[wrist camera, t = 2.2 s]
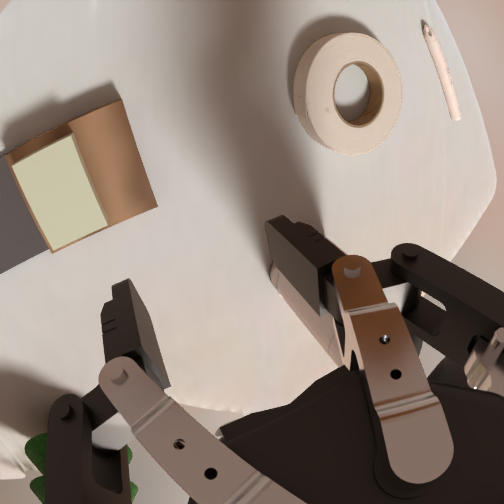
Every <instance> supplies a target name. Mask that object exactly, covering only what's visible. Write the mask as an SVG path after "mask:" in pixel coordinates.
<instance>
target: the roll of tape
mask: <svg viewBox="0 0 504 504" xmlns="http://www.w3.org/2000/svg"><path fill="white" fill-rule="evenodd" d="M351 64H355V65H357V66H358V67H360V68H361V69H362V70H363V71H364V73H365V75H366V76H367V78H368V81H369V85H370V98H369V102H368V105H367V107H366V109H365V111H364V112H363V113H362V115H360V116H359V117H358V118H357V119H356V120H353V121H349V122H347V121H345V120H344V119H343V118H342V116H341V115H340V114H339V112H338V110H337V107H336V104H335V99H334V89H335V84H336V81H337V78H338V76H339V75H340V73H341V72H342V70H343V69H344V68H346V67H347V66H349V65H351ZM293 100H294V110H295V114H297V115H298V117H299V120H300V122H301V124H302V126H303V128H304V129H305V131H306V132H307V133H308V134H309V136H310V137H311V138H312V139H313V140H315V141H316V142H317V143H319V144H320V145H322V146H324V147H326V148H328V149H331V150H333V151H336V152H338V153H341V154H345V155H361V154H365V153H368V152H370V151H372V150H374V149H375V148H377V147H378V146H379V145H381V144H382V143H383V142H384V141H385V140H386V138H387V137H388V136H389V135H390V133H391V132H392V130H393V128H394V126H395V124H396V122H397V119H398V116H399V113H400V109H401V103H402V82H401V77H400V73H399V70H398V67H397V65H396V63H395V61H394V59H393V57H392V55H391V54H390V53H389V51H388V50H387V49H386V48H385V47H384V46H383V45H382V44H381V43H380V42H379V41H377V40H376V39H374V38H373V37H371V36H368V35H366V34H363V33H357V32H347V33H334V34H330V35H327V36H324V37H322V38H320V39H318V40H317V41H315V42H314V43H313V44H312V45H311V46H310V47H309V48H308V49H307V50H306V51H305V52H304V54H303V56H302V57H301V59H300V61H299V63H298V66H297V69H296V72H295V77H294V84H293Z"/></svg>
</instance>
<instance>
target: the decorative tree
mask: <svg viewBox="0 0 504 504" xmlns="http://www.w3.org/2000/svg"><path fill="white" fill-rule="evenodd" d="M46 444H47V433H43V434H40V435H37V436H35V437H33V438H31V439H30V440H29V441H28V442H27V443H26V445H25V453H26V455H27V456H28V458H29V459H30V460H31V461H32V463H33V464H34V465H35V466H36V467H37V469H38V470H39V471H40V472H41V473H42V474H43V476H40V477H37V478H35V479H34V480H32V481H31V483H30V488H31V490H32V491H33V492H34V494H35V495H36V496H37V497H38V499H39V500H40V501H41V502H42V503H43V504H45V460H46ZM127 452H128V464H129V463H130V461H131V459H132V451H131V449H130V448H129V447H128V446H127ZM130 489H131V498H132V502H133V500H134V498H135V496H136V494H137V491H138V487H137V486H136V485H135V484H134V483H133V482H131V481H130Z"/></svg>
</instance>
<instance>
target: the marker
mask: <svg viewBox="0 0 504 504" xmlns="http://www.w3.org/2000/svg"><path fill="white" fill-rule="evenodd" d="M423 34H424V38H425V41H426V43H427V46H428V48H429V51H430V54H431V56H432V59H433V62H434V64H435V67H436V70H437V73H438V76H439V79H440V82H441V85H442V88H443V91H444V95H445V98H446V101H447V105H448V108H449V112H450V116H451V118H452V120H455V121H458V120H460V119H461V118H462V117H461V112H460V108H459V104H458V100H457V96H456V93H455V89H454V85H453V82H452V79H451V75H450V72H449V69H448V66H447V63H446V60H445V57H444V54H443V52H442V49H441V46H440V43H439V41H438V38H437V36H436V34H435V32H434V31H433V30H432V29H431V28H430V27H429V26H428V25H426V24H425V25H424V29H423Z"/></svg>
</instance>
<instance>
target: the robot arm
mask: <svg viewBox="0 0 504 504" xmlns="http://www.w3.org/2000/svg"><path fill="white" fill-rule="evenodd" d="M265 230H266V235H267V240H268V245H269V250H270V255H271V258H272V260H273V264H272V267H271V272H270V278H271V282H272V284H273V286H274V287H275V288H276V290H277V291H278V293H279V294H280V295H281V297H282V298H283V299H284V300H285V301H286V302H287V304H288V305H289V306H290V307H291V309H292V310H293V311H294V312H295V314H296V315H297V316H298V317H299V319H300V320H301V321H302V322H303V324H304V325H305V326H306V327H307V329H308V330H309V331H310V332H311V334H312V335H313V336H314V337H315V339H316V340H317V341H318V342H319V344H320V345H321V346H322V347H323V349H324V350H325V351H326V352H327V354H328V355H329V356H330V357H331V358H332V360H333V361H334V362H335V363H336V365H337V366H338V367H339V368H337V369H336V370H334V371H332V372H330V373H329V374H327V375H325V376H323V377H322V378H320V379H318V380H316V381H315V382H314V383H313V384H312V385H311V386H310V387H308V388H307V389H306V390H305V391H304V392H303V393H302V394H301V395H299V396H298V397H297V398H296V399H295V400H294V401H293V402H291V403H290V404H288V405H285V406H281V407H277V408H273V409H269V410H264V411H260V412H255V413H251V414H249V415H247V416H245V417H243V418H240V419H238V420H236V421H234V422H231V423H229V424H227V425H224V426H222V427H220V429H221V432H222V434H223V437H221V438H220V439H219V440H218V439H217V438H216V437H215V436H213V435H212V434H211V433H210V432H209V431H208V430H206V429H205V428H204V427H203V426H202V425H201V424H200V423H198V422H197V421H196V420H195V419H194V418H193V417H192V416H190V414H188V413H187V412H186V411H185V410H184V409H183V408H182V407H181V406H180V405H179V404H178V403H177V402H176V401H175V400H174V399H172V398H171V397H169V396H168V395H166V394H165V393H164V390H163V389H166V388H168V387H171V385H170V382H169V379H168V375H167V372H166V369H165V366H164V363H163V359H162V356H161V353H160V349H159V346H158V342H157V339H156V335H155V332H154V328H153V325H152V321H151V318H150V315H149V313H148V311H147V309H146V307H145V305H144V303H143V301H142V300H141V298H140V296H139V294H138V292H137V291H136V289H135V287H134V285H133V283H132V281H131V280H130V279H129V278H128V279H126V280H124V281H121V282H119V283H117V284H114V285H112V296H113V300H111V301H109V302H106V303H105V304H104V306H103V309H102V312H101V324H102V333H103V335H102V336H103V346H104V354H105V362H106V364H105V365H104V367H103V368H102V370H101V372H100V374H99V384H98V386H97V387H96V388H94V389H93V390H92V391H90V392H89V393H88V394H86V395H85V396H84V397H82V398H81V399H80V398H79V397H78V396H76V395H74V394H66V395H63V396H61V397H60V398H58V399H57V400H56V401H55V402H54V404H53V405H52V407H51V410H50V414H49V422H48V432H47V444H46V460H45V504H132V498H131V489H130V479H129V466H128V452H127V443H129V442H130V441H131V440H133V439H134V438H136V439H137V440H138V441H139V442H140V443H141V445H142V446H143V447H144V448H145V449H146V450H147V451H148V453H150V455H151V456H152V457H153V458H154V459H155V461H156V462H157V463H158V464H159V465H160V466H161V467H162V468H163V469H164V470H165V471H166V472H167V474H168V475H169V476H170V477H171V478H172V479H173V480H174V481H175V482H176V483H177V484H178V485H179V486H180V487H181V488H182V489H183V490H184V491H185V492H186V493H187V494H188V495H190V498H189V502H188V504H504V292H502V291H501V290H499V289H497V288H496V287H494V286H492V285H490V284H488V283H487V282H485V281H483V280H482V279H480V278H478V277H476V276H475V275H473V274H471V273H469V272H467V271H466V270H464V269H462V268H460V267H458V266H457V265H455V264H453V263H451V262H449V261H447V260H446V259H444V258H442V257H440V256H438V255H436V254H434V253H432V252H430V251H428V250H427V249H425V248H423V247H421V246H419V245H416V244H412V243H403V244H399V245H397V246H395V247H394V248H393V250H392V252H391V258H390V259H386V260H381V261H377V262H370V261H369V260H367V259H366V258H364V257H362V256H358V255H347V254H346V253H345V252H344V251H343V250H341V249H340V248H339V247H338V246H336V245H335V244H334V243H333V242H332V241H330V240H329V239H328V238H327V237H325V236H323V235H322V234H320V233H318V231H317V230H315V229H314V228H313V227H312V226H310V225H308V224H305V223H301V222H297V223H292V222H291V221H290V220H289V219H288V218H286V217H285V216H284V215H281V216H278V217H276V218H273V219H271V220H268V221H266V222H265ZM422 291H423V292H425V293H427V294H428V295H430V296H432V297H433V298H435V299H436V300H438V301H440V302H441V303H442V304H443V305H444V306H445V308H446V311H445V310H443V309H441V308H440V307H438V306H436V305H435V304H433V303H432V302H430V301H428V300H427V299H425V298H423V297H422V296H421V292H422ZM423 341H425V342H426V343H427V344H429V345H430V346H432V347H433V348H435V349H436V350H438V351H439V352H441V353H442V354H443V355H445V356H446V357H445V358H444V359H443V360H442V361H441V362H440V363H439V364H438V365H437V366H436V368H435V369H434V370H433V371H432V372H431V374H430V375H429V376H428V378H426V376H425V373H424V370H423V367H422V364H421V362H420V359H419V354H420V351H421V348H422V343H423Z"/></svg>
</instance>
